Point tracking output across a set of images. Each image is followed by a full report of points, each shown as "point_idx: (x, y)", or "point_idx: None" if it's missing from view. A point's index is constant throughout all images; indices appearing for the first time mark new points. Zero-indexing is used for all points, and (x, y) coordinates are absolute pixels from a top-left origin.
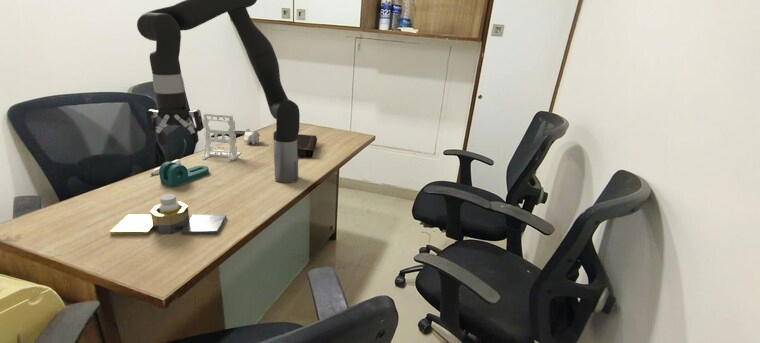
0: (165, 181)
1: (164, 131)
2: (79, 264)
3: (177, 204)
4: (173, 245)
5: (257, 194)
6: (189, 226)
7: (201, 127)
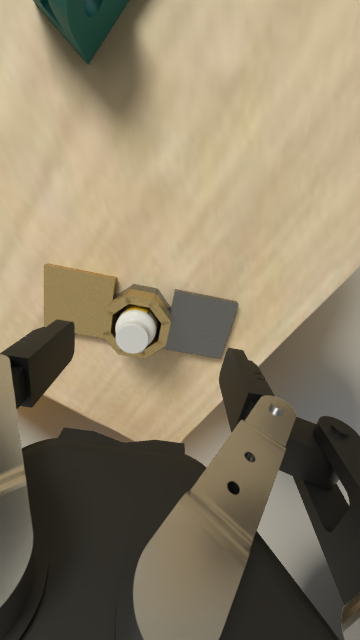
0: (51, 18)
1: (27, 360)
2: (47, 391)
3: (152, 335)
4: (156, 371)
5: (321, 185)
6: (174, 335)
7: (338, 477)
